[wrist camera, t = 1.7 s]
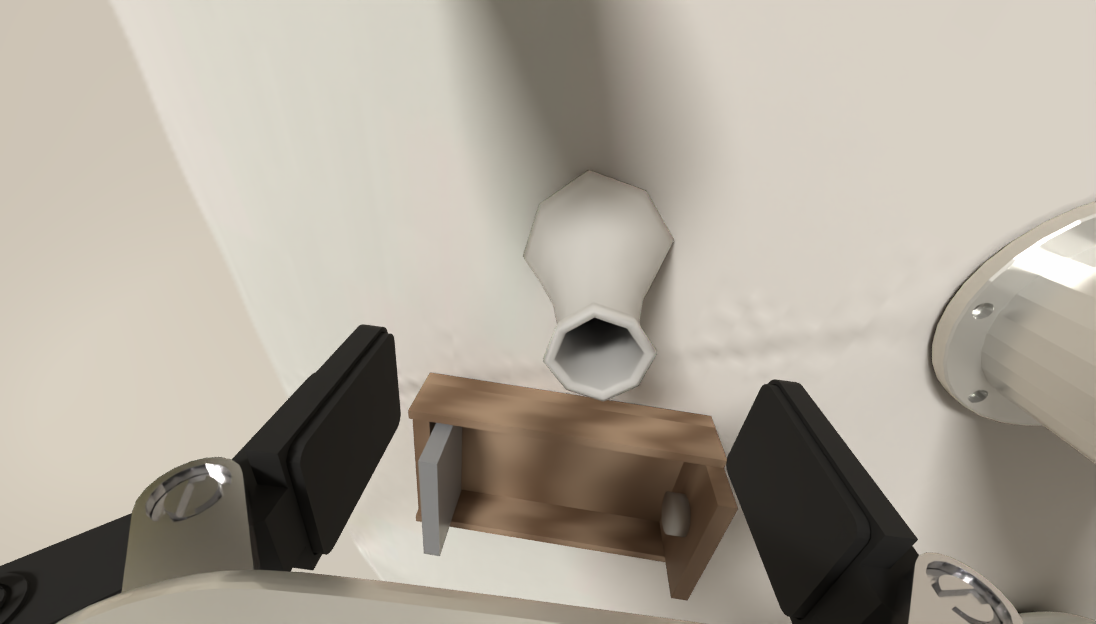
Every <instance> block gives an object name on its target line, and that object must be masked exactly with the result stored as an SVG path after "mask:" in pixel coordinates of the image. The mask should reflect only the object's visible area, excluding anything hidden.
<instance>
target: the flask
mask: <svg viewBox="0 0 1096 624" xmlns="http://www.w3.org/2000/svg"><path fill="white" fill-rule="evenodd" d="M673 241H674V238H673V237H672V235H671V233H670V232H669V230H668V228H667V226H666V225H665V223H664V221H663V219H662V218H661V216H660V214H659V212H658V211H657V209H656V207H655V205H654V204H653V202H652V200H651V199H650V197H649V195H648V193H647V192H646V190H643V189H640V188H637V187H635V186H632V185H629V184H626V183H624V182H621V181H618V180H615V179H612V178H610V177H607V176H604V175H601V174H599V173H596V172H593V171H590V170H588V171H586V172H585V173H584V174H582V175H581V176H579V177H578V178H576V179H575V180H573V181H572V182H571V183H569V184H568V185H566V186H565V187H563V188H562V189H560V190H559V191H558V192H556V193H555V194H553V195H552V196H550V197H549V198H548V199H546V200H545V201H543V202H542V203H540V204H539V206H538V210H537V213H536V216H535V219H534V222H533V226H532V229H531V232H530V235H529V238H528V241H527V245H526V248H525V251H524V254H523V257H524V259H525V260H526V262H527V264H528V265H529V266H530V268H531V269H532V271H533V272H534V274H535V275H536V276H537V278H538V279H539V281H540V283H541V285H542V286H543V288H544V290H545V291H546V293H547V295H548V297H549V298H550V300H551V302H552V304H553V307H554V312H555V317H556V322H557V325H556V327H555V330H554V332H553V335H552V337H551V340H550V342H549V345H548V348H547V350H546V353H545V355H544V358H543V362H544V363H545V364H546V366H547V367H548V368H549V369H550V371H551V372H552V373H553V374H554V375H555V377H556V378H557V379H558V380H559V382H560V383H561V384H562V385H563V386H564V388H565V389H566V390H569V391H572V392H575V393H578V394H581V395H585V396H588V397H591V398H594V399H597V400H600V401H603V402H604V401H606V400H608V399H610V398H613V397H615V396H617V395H619V394H621V393H624V392H626V391H628V390H630V389H632V388H635V387H637V386H639V384H640V383H641V381H642V379H643V377H644V376H645V374H646V372H647V370H648V369H649V367H650V365H651V363H652V362H653V360H654V358H655V356H656V355H657V353H656V349H655V347H654V346H653V345H652V343H651V342H650V340H649V339H648V337H647V336H646V334H645V333H644V331H643V330H642V328H641V325H640V315H641V309H642V303H643V298H644V297H645V295H646V294H647V292H648V290H649V288H650V286H651V284H652V282H653V280H654V278H655V276H656V275H657V273H658V271H659V269H660V267H661V265H662V263H663V261H664V259H665V257H666V255H667V253H668V251H669V249H670V247H671V245H672V243H673Z"/></svg>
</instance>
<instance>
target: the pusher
mask: <svg viewBox="0 0 1096 624" xmlns="http://www.w3.org/2000/svg"><path fill="white" fill-rule="evenodd" d="M418 466H419V482H420V498H421V515H422V531H423V547H424V554H430V555H436V556H440V554H441V551H442V548H443V544H444V541H445V538H446V535H447V532H448V529H449V526H450V523H451V520H452V517H453V514H454V511H455V508H456V505H457V502H458V499H459V496H460V493H461V471H462V427H461V426H454V425H448V424H442V423H436V424H435V426H434V429H433V431H432V433H431V435H430V437H429V439H428V441H427V443H426V446H425V448H424V450H423V452H422V454H421V456H420V458H419V460H418Z"/></svg>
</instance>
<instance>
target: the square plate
mask: <svg viewBox="0 0 1096 624" xmlns="http://www.w3.org/2000/svg"><path fill="white" fill-rule="evenodd" d="M1019 615H1020V617H1021V618H1022V621H1023V624H1096V621H1095V620H1092V619H1089V618H1086V617H1082V616H1078V615H1073V614H1068V613H1063V612H1049V611H1042V612H1029V613H1020V614H1019Z"/></svg>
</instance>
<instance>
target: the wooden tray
mask: <svg viewBox="0 0 1096 624" xmlns="http://www.w3.org/2000/svg"><path fill="white" fill-rule="evenodd" d="M408 414H409V418H410V419H413V431H414V446H415V461H416V476H417V491H418V506H419V509H418V512H417V514H416V521H420V522H422V515H421V498H420V482H419V466H418V460H419V458H420V456H421V454H422V452H423V450H424V448H425V446H426V443H427V441H428V439H429V437H430V435H431V433H432V431H433V429H434V426H435V424H436V423H442V424H448V425H454V426H461V427H462V471H461V493H460V496H459V499H458V502H457V505H456V508H455V511H454V514H453V517H452V520H451V523H450V527H456V528H462V529H468V530H474V531H480V532H486V533H492V534H498V535H504V536H510V537H516V538H522V539H528V540H534V541H540V542H546V543H552V544H558V545H564V546H571V547H577V548H583V549H589V550H595V551H601V552H607V553H613V554H619V555H625V556H631V557H637V558H643V559H649V560H655V561H661V562H666V568H667V575H668V581H669V588H670V594H671V598H676V599H681V600H688V598H689V597H690V595H691V593H692V591H693V589H694V587H695V586H696V584H697V582H698V580H699V578H700V577H701V575H702V573H703V571H704V569H705V568H706V566H707V564H708V562H709V560H710V558H711V557H712V555H713V553H714V551H715V549H716V548H717V546H718V544H719V542H720V540H721V539H722V537H723V535H724V533H725V531H726V529H727V528H728V526H729V524H730V522H731V520H732V519H733V517H734V515H735V513H736V511H737V510H738V507H737V504H736V502H735V499H734V496H733V493H732V490H731V487H730V484H729V482H728V479H727V476H726V473H725V470H724V467H725V465H726V462H727V458H726V456H725V453H724V450H723V447H722V445H721V442H720V439H719V436H718V434H717V431H716V428H715V425H714V423H713V420H712V417H711V416H707V415H701V414H694V413H688V412H681V411H675V410H668V409H662V408H655V407H649V406H642V405H636V404H629V403H623V402H617V401H610V400H606V401H604V402H603V401H600V400H597V399H594V398H591V397H584V396H578V395H571V394H565V393H558V392H552V391H546V390H539V389H533V388H526V387H520V386H513V385H507V384H500V383H494V382H487V381H481V380H475V379H468V378H462V377H455V376H449V375H442V374H436V373H430V374H429V375H428V377H427V379H426V381H425V382H424V384H423V386H422V387H421V389H420V391H419V393H418V394H417V396H416V398H415V400H414V401H413V403H412V405H411V407H410V408H409V410H408Z"/></svg>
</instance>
